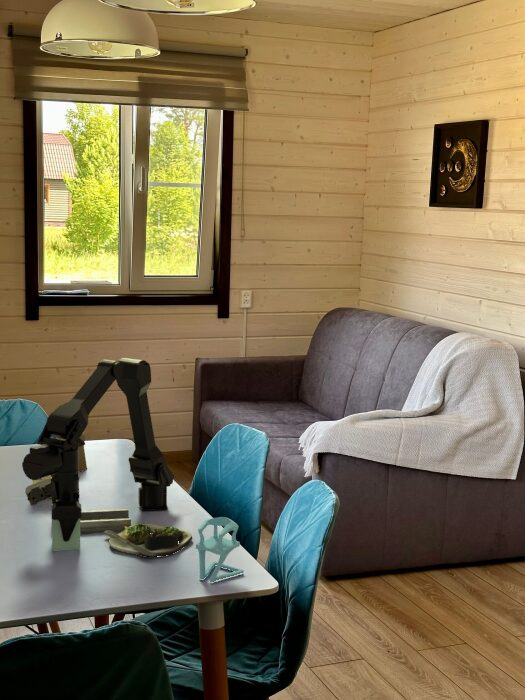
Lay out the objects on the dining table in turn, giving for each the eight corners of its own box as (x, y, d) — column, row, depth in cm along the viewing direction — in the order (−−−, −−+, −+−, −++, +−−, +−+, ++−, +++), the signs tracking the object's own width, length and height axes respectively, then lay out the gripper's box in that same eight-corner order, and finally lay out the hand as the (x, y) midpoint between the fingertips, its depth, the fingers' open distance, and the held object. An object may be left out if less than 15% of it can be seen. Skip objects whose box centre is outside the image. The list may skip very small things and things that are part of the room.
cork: (61, 470, 261) (61, 432, 259) (72, 465, 267) (71, 428, 265) (80, 472, 259) (80, 434, 257) (90, 467, 265) (90, 430, 263)
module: (79, 541, 206) (79, 507, 205) (80, 549, 202) (80, 514, 201) (52, 543, 205) (51, 508, 203) (52, 550, 200) (51, 515, 199)
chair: (190, 578, 188) (190, 522, 186) (214, 565, 194) (215, 511, 192) (220, 587, 183) (221, 530, 181) (244, 574, 190) (245, 518, 188)
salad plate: (84, 550, 202) (84, 530, 201) (128, 525, 218) (128, 507, 217) (161, 565, 194) (161, 545, 194) (200, 539, 211) (200, 519, 210)
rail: (128, 518, 222) (128, 504, 222) (131, 530, 214) (131, 516, 213) (51, 521, 218) (51, 507, 218) (52, 535, 210) (51, 520, 209)
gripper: (28, 458, 208) (29, 525, 210) (26, 483, 190) (27, 555, 192) (78, 457, 210) (78, 522, 213) (81, 480, 192) (81, 551, 195)
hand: (66, 537), depth 203 cm, fingers closed on module, 4 cm apart
